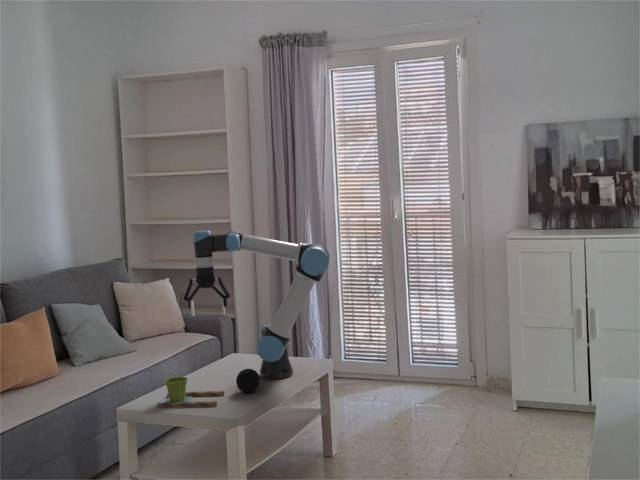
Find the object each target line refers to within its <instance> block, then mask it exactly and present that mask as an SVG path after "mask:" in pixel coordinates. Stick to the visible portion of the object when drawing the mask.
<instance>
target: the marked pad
mask: <svg viewBox="0 0 640 480" xmlns="http://www.w3.org/2000/svg"><path fill="white" fill-rule="evenodd" d="M192 398H193V397H192V396H189V397H185V400H184V401H181V402H191V400H192ZM165 402H171V401H170V398H169V397H166V399H165V400H164V401H163V403H165Z"/></svg>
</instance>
